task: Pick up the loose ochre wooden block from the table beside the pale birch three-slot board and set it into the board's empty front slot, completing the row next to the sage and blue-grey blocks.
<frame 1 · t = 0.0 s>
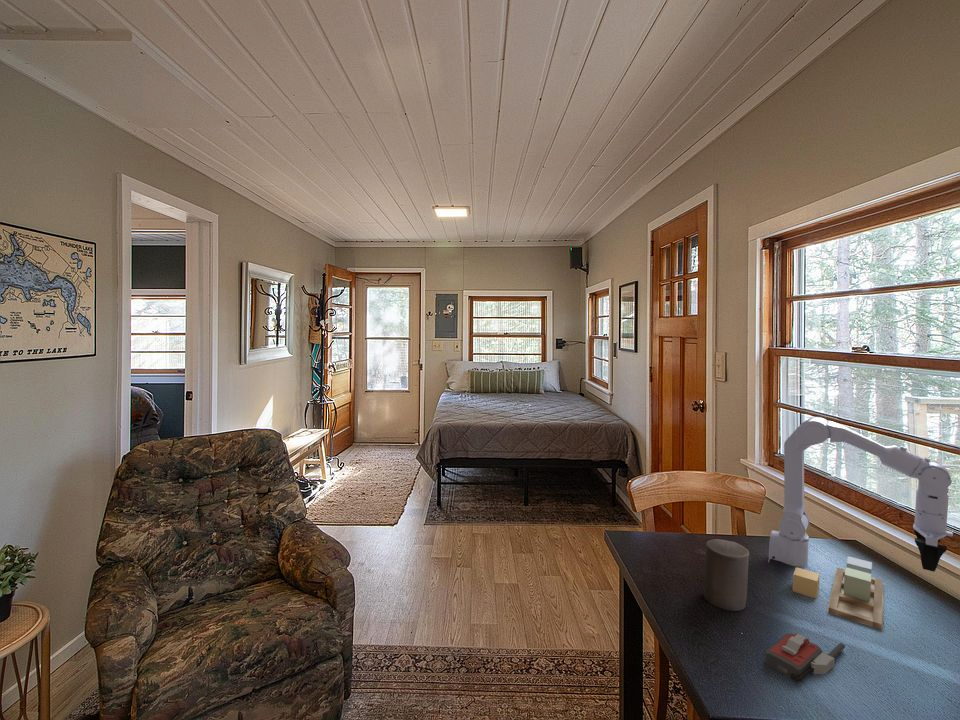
hand: (927, 564, 115), 10 cm above the table, tool pointing down, fingers open, 7 cm apart
sage block: (856, 597, 115), point 1 cm above the table, touching slot board
slot board: (856, 603, 115), on the table
blue-grey block: (858, 584, 121), point 1 cm above the table, touching slot board
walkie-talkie: (804, 661, 95), on the table
ochre block: (805, 596, 118), on the table
pillar candle: (724, 600, 116), on the table
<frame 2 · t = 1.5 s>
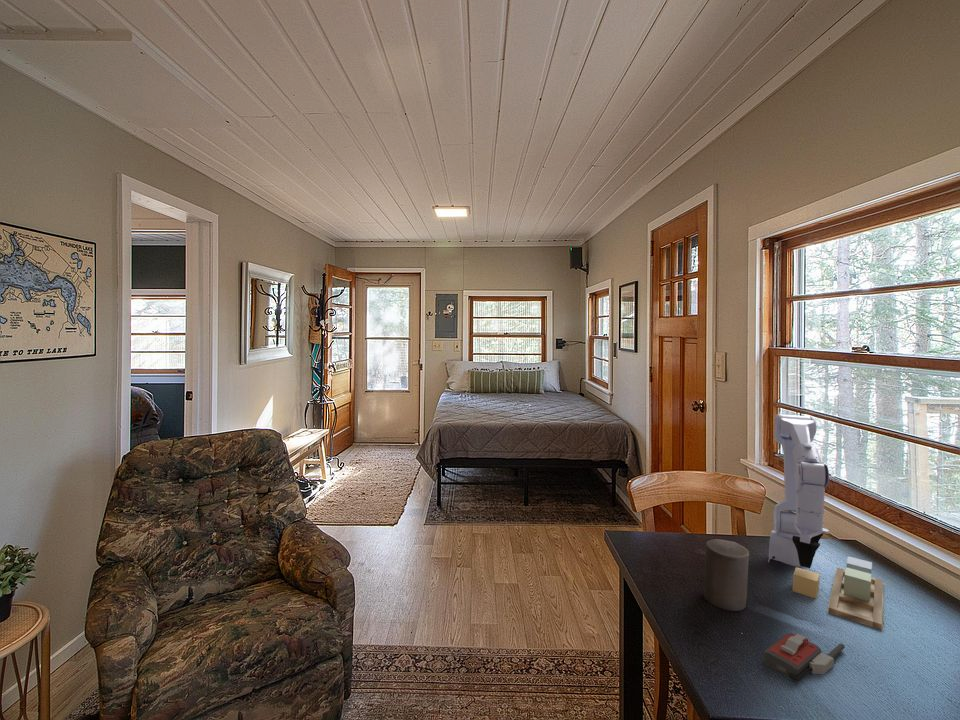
hand: (807, 561, 118), 9 cm above the table, tool pointing down, fingers open, 7 cm apart
nothing on the table moved.
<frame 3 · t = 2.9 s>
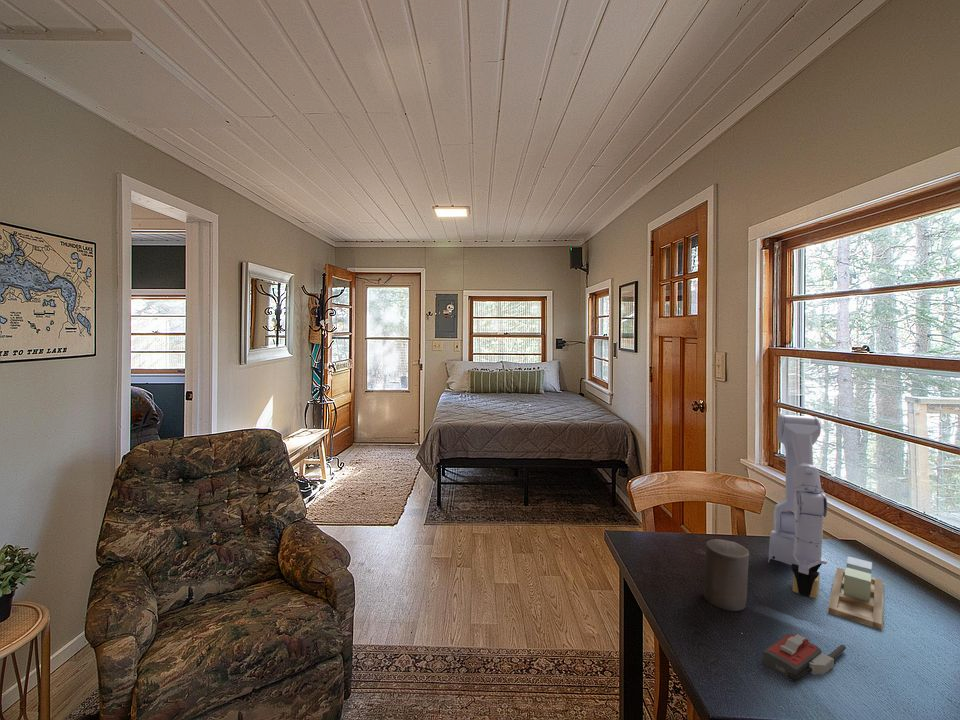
hand: (805, 590, 118), 2 cm above the table, tool pointing down, fingers closed on ochre block, 5 cm apart
ochre block: (805, 596, 118), on the table, touching gripper
everything else where it was.
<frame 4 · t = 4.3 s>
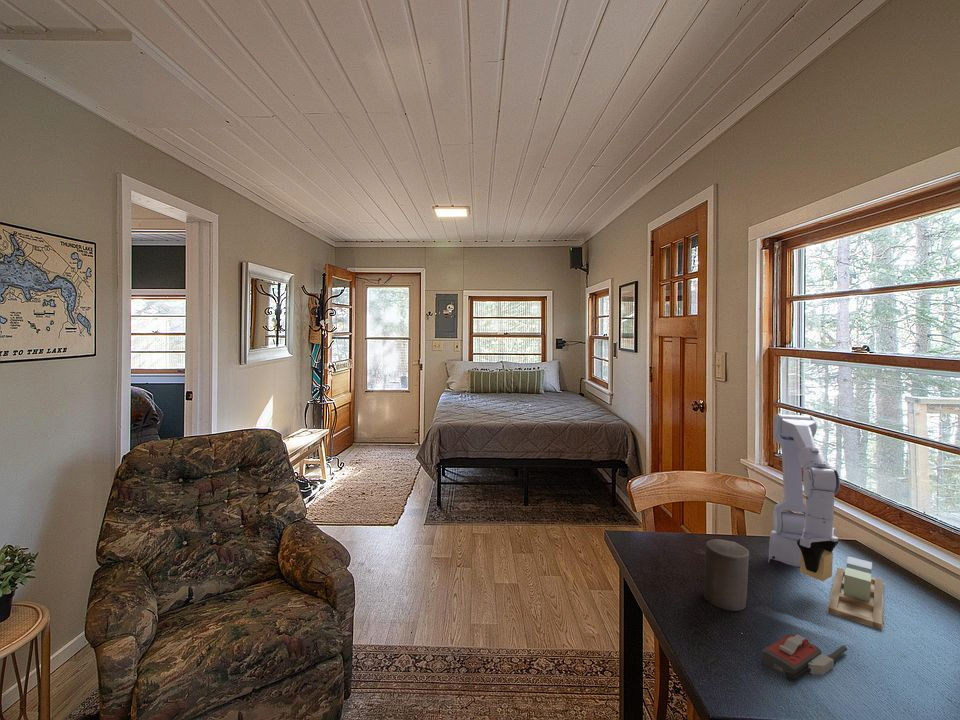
hand: (816, 568, 116), 8 cm above the table, tool pointing down, fingers closed on ochre block, 5 cm apart
ochre block: (815, 574, 116), point 7 cm above the table, touching gripper
everything else where it was.
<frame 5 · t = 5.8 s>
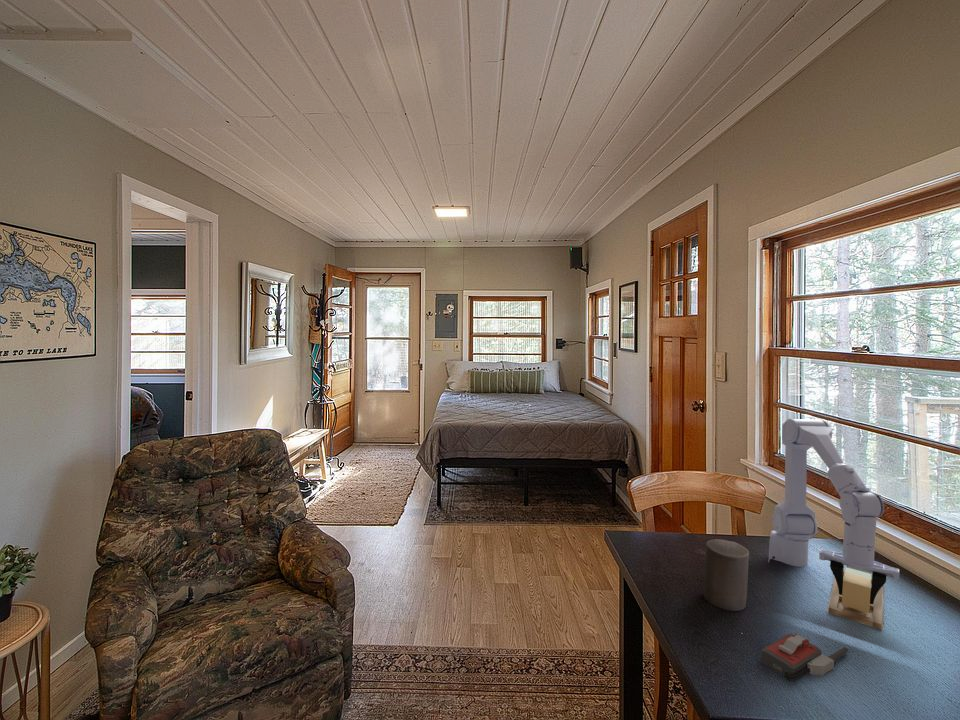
hand: (855, 597, 109), 5 cm above the table, tool pointing down, fingers closed on ochre block, 5 cm apart
ochre block: (855, 604, 109), point 3 cm above the table, touching gripper
everything else where it was.
when the fingers open (5 cm above the table, at t = 5.9 s): ochre block drops 2 cm, resting on slot board.
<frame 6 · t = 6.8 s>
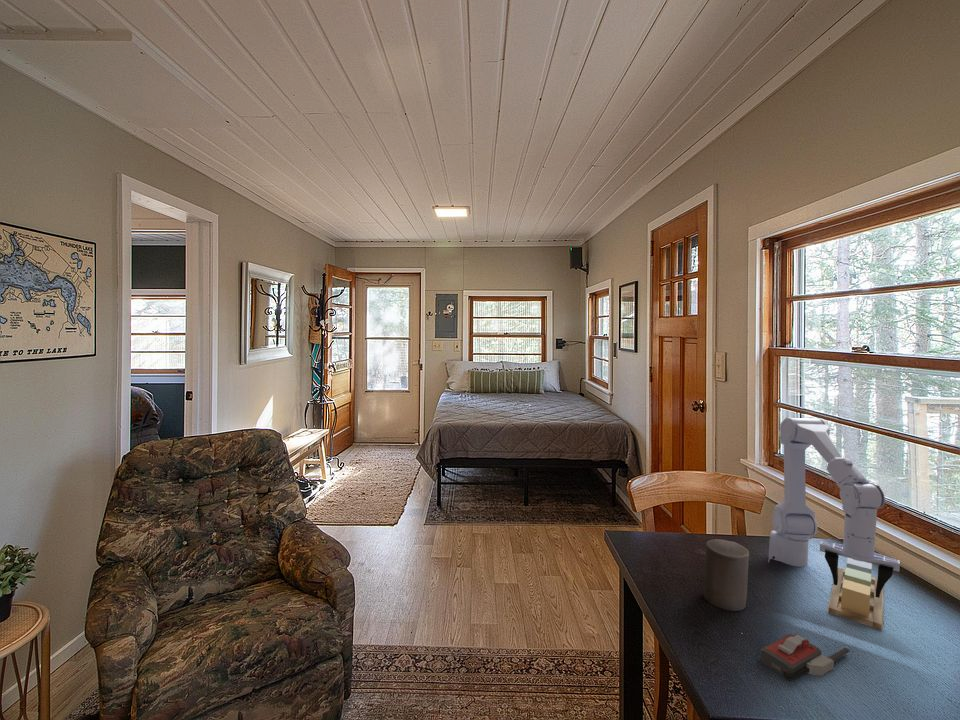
hand: (856, 589, 109), 7 cm above the table, tool pointing down, fingers open, 7 cm apart
ochre block: (855, 611, 109), point 1 cm above the table, touching slot board
everything else where it was.
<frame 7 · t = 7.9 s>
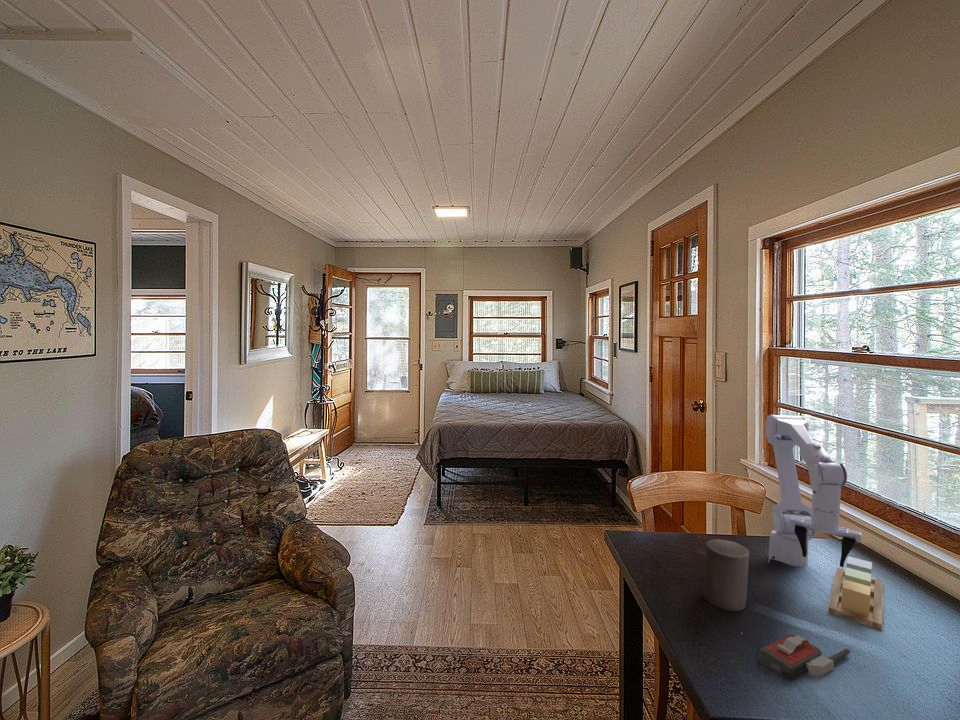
hand: (822, 560, 118), 9 cm above the table, tool pointing down, fingers open, 7 cm apart
nothing on the table moved.
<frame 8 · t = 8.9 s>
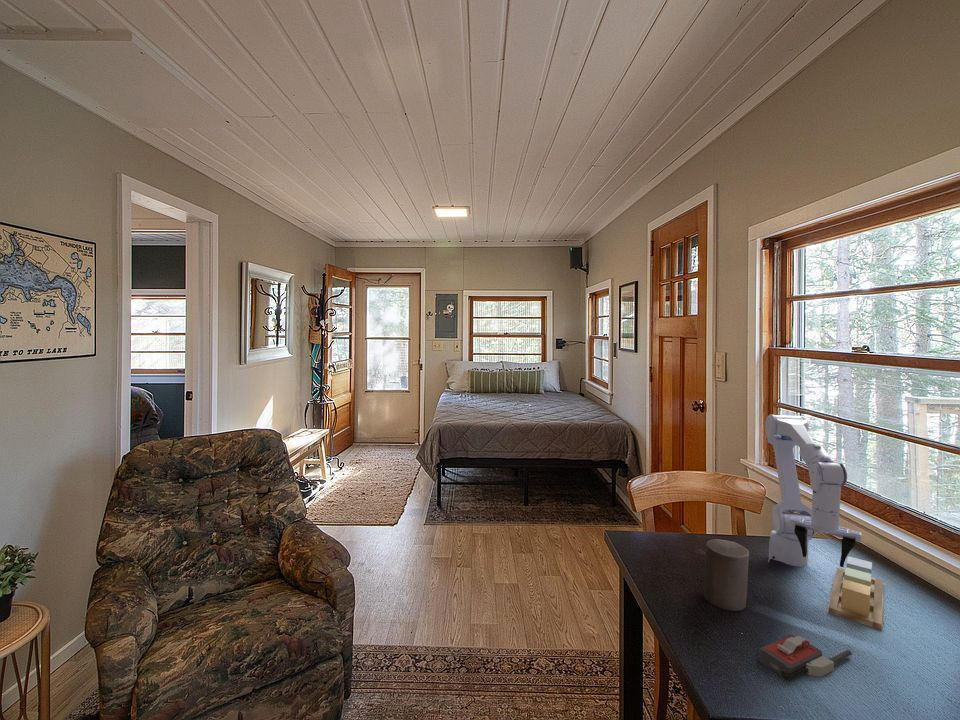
hand: (822, 560, 118), 9 cm above the table, tool pointing down, fingers open, 7 cm apart
at the end: ochre block 0.1 cm from the target spot on the slot board, point 1.5 cm above the slot board's base; ochre block tilted 0°; the gripper is holding nothing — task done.
